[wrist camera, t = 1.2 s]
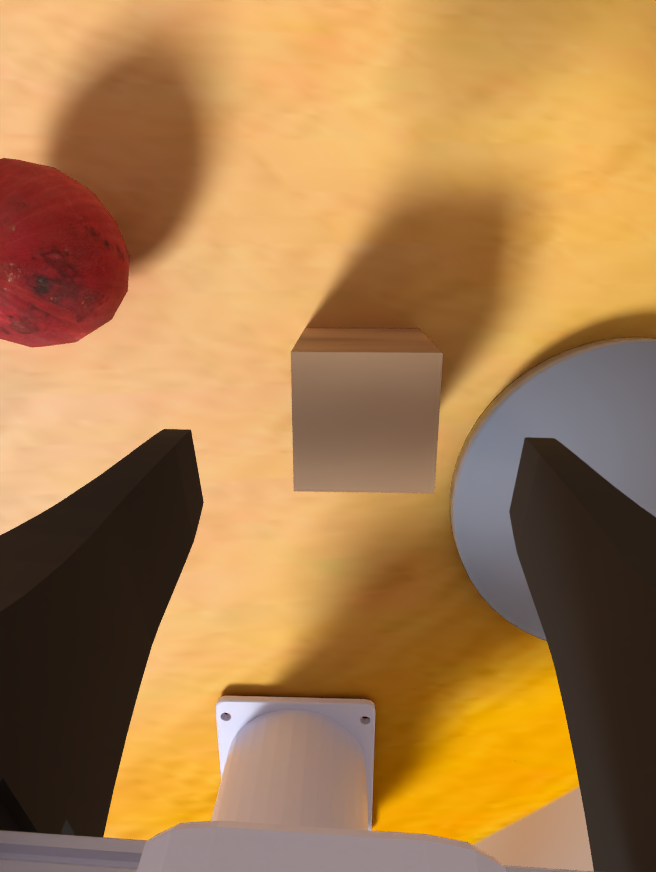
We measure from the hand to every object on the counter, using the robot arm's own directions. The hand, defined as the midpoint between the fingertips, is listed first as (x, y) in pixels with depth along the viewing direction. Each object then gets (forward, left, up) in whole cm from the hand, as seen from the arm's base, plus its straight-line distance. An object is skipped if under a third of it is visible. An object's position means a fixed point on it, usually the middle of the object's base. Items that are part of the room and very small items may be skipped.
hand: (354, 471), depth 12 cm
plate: (-6, -11, -11) cm, 17 cm away
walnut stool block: (-1, 0, -11) cm, 11 cm away
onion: (+4, +11, -12) cm, 16 cm away
